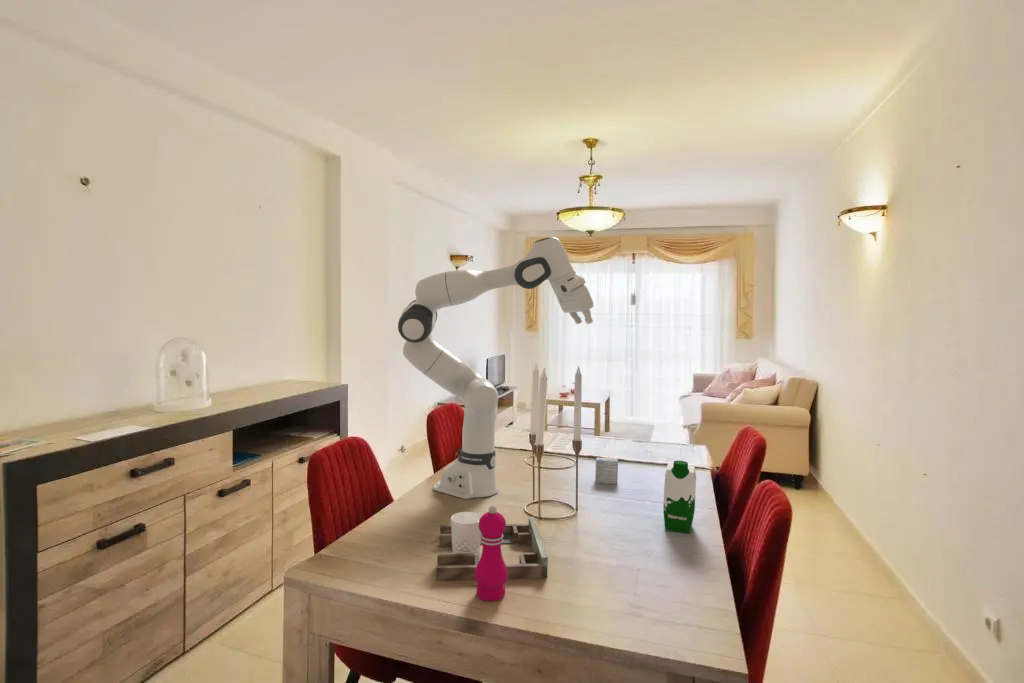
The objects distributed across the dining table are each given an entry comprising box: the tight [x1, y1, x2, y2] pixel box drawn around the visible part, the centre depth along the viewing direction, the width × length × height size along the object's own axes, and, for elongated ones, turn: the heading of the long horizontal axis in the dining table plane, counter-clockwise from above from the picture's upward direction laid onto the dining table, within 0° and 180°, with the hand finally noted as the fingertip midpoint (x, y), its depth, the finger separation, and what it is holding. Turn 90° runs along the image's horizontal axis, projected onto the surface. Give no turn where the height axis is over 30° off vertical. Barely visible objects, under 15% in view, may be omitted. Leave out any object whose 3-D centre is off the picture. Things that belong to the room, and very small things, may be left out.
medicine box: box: [594, 457, 619, 485], centre depth 204 cm, size 8×4×9 cm, turn 84°
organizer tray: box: [435, 516, 549, 581], centre depth 142 cm, size 26×25×5 cm
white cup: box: [450, 511, 482, 555], centre depth 141 cm, size 8×8×10 cm
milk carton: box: [662, 460, 697, 535], centre depth 163 cm, size 9×9×20 cm
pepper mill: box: [475, 505, 508, 602], centre depth 122 cm, size 7×7×20 cm
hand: (584, 323), depth 177 cm, fingers open, 8 cm apart
